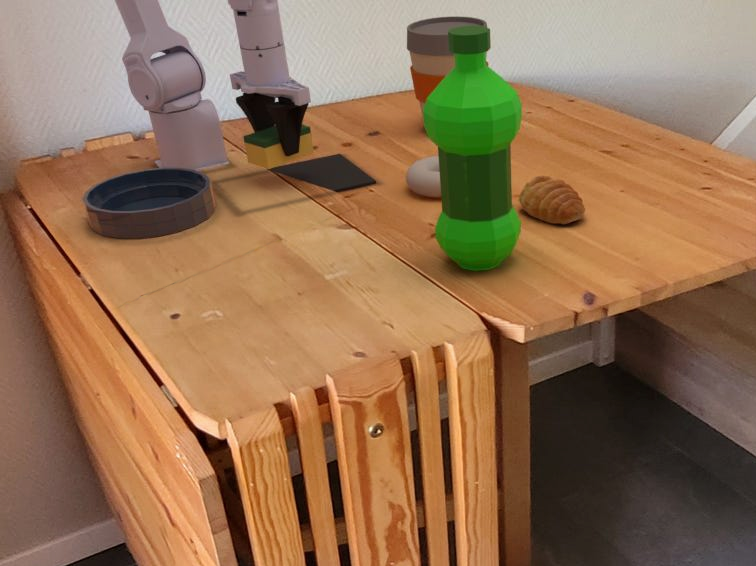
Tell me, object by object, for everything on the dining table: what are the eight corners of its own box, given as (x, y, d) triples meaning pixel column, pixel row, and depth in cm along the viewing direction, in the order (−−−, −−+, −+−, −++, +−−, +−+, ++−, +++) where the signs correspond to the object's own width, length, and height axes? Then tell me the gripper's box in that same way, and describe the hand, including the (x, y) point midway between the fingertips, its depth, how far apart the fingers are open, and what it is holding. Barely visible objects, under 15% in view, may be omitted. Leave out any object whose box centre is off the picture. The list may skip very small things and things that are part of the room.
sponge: (293, 146, 138) (289, 121, 136) (314, 152, 135) (310, 126, 133) (248, 162, 133) (243, 136, 131) (268, 169, 131) (263, 142, 128)
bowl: (198, 187, 137) (192, 159, 135) (231, 225, 126) (224, 195, 123) (82, 212, 132) (73, 183, 129) (104, 253, 120) (95, 222, 118)
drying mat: (340, 156, 145) (339, 153, 145) (376, 183, 135) (376, 180, 135) (210, 183, 138) (209, 180, 138) (238, 214, 129) (237, 211, 128)
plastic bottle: (463, 238, 119) (450, 16, 104) (539, 253, 115) (537, 23, 99) (418, 269, 112) (398, 37, 97) (497, 286, 108) (489, 46, 92)
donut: (395, 185, 135) (425, 206, 128) (393, 160, 133) (423, 180, 125) (459, 171, 138) (492, 191, 131) (457, 147, 136) (491, 165, 129)
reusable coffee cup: (445, 111, 161) (439, 13, 151) (507, 122, 155) (505, 20, 145) (397, 133, 153) (387, 30, 144) (460, 145, 147) (455, 39, 138)
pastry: (598, 219, 122) (599, 189, 119) (554, 232, 119) (554, 202, 117) (555, 197, 128) (555, 169, 126) (513, 209, 126) (512, 180, 123)
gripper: (203, 44, 127) (225, 148, 135) (272, 59, 119) (290, 168, 127) (247, 33, 131) (265, 135, 139) (316, 46, 123) (331, 154, 131)
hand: (280, 150), depth 134 cm, fingers closed on sponge, 4 cm apart
